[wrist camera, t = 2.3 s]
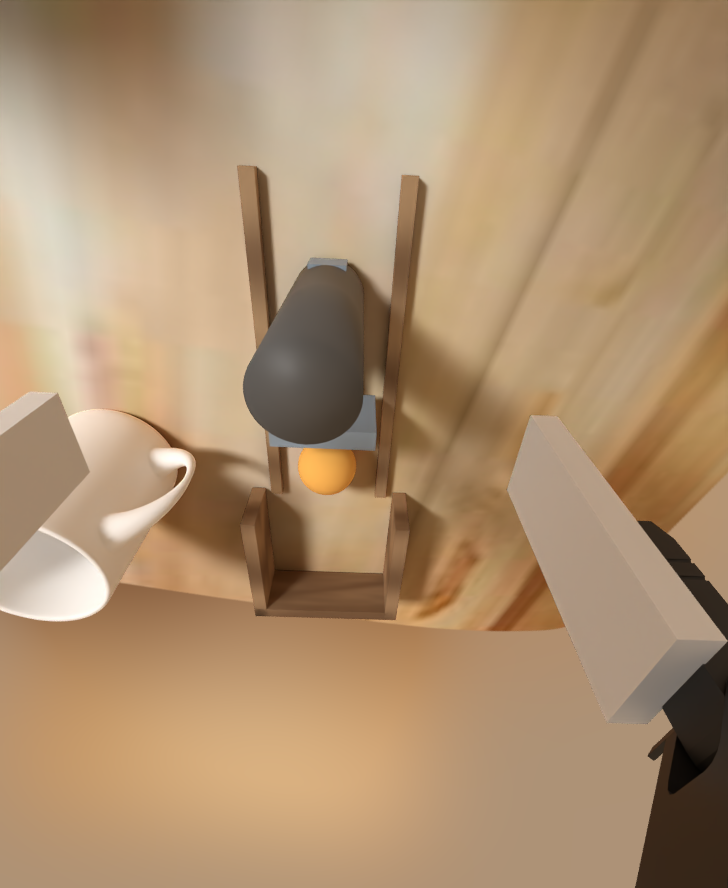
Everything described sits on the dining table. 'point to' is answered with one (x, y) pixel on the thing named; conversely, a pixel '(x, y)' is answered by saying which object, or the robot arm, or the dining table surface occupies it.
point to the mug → (96, 520)
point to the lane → (397, 311)
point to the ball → (326, 469)
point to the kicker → (315, 365)
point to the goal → (322, 573)
